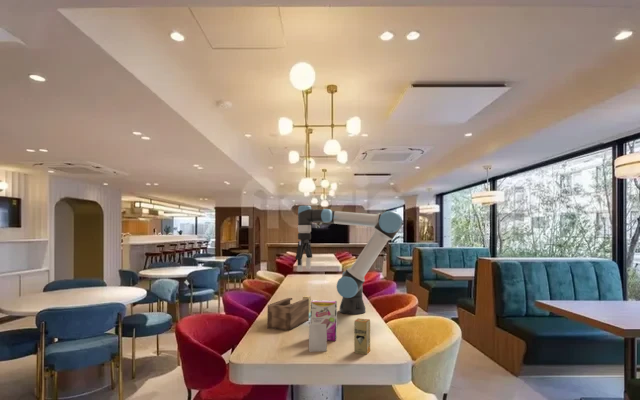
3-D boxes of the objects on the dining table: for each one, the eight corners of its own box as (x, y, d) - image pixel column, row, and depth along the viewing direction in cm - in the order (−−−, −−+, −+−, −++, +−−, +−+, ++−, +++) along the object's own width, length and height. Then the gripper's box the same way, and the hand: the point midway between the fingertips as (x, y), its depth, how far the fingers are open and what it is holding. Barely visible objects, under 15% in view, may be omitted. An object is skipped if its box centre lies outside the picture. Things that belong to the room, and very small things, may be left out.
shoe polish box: (358, 349, 156) (357, 318, 157) (370, 350, 154) (370, 319, 155) (354, 352, 152) (354, 320, 153) (366, 354, 150) (366, 322, 151)
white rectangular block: (326, 351, 154) (326, 324, 155) (309, 351, 153) (309, 325, 154) (325, 348, 157) (325, 322, 158) (308, 348, 157) (308, 323, 158)
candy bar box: (310, 340, 168) (310, 301, 170) (311, 337, 173) (311, 299, 175) (336, 341, 167) (336, 302, 169) (337, 338, 172) (337, 300, 174)
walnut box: (308, 320, 207) (308, 299, 208) (290, 330, 185) (290, 306, 186) (287, 318, 211) (288, 297, 212) (267, 328, 190) (267, 305, 190)
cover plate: (320, 313, 227) (320, 294, 228) (306, 320, 209) (306, 299, 210) (306, 312, 230) (306, 293, 231) (292, 319, 212) (292, 298, 213)
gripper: (305, 232, 240) (305, 267, 238) (290, 232, 216) (289, 271, 214) (317, 232, 237) (317, 268, 236) (302, 232, 214) (302, 272, 212)
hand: (304, 270), depth 225 cm, fingers open, 13 cm apart
